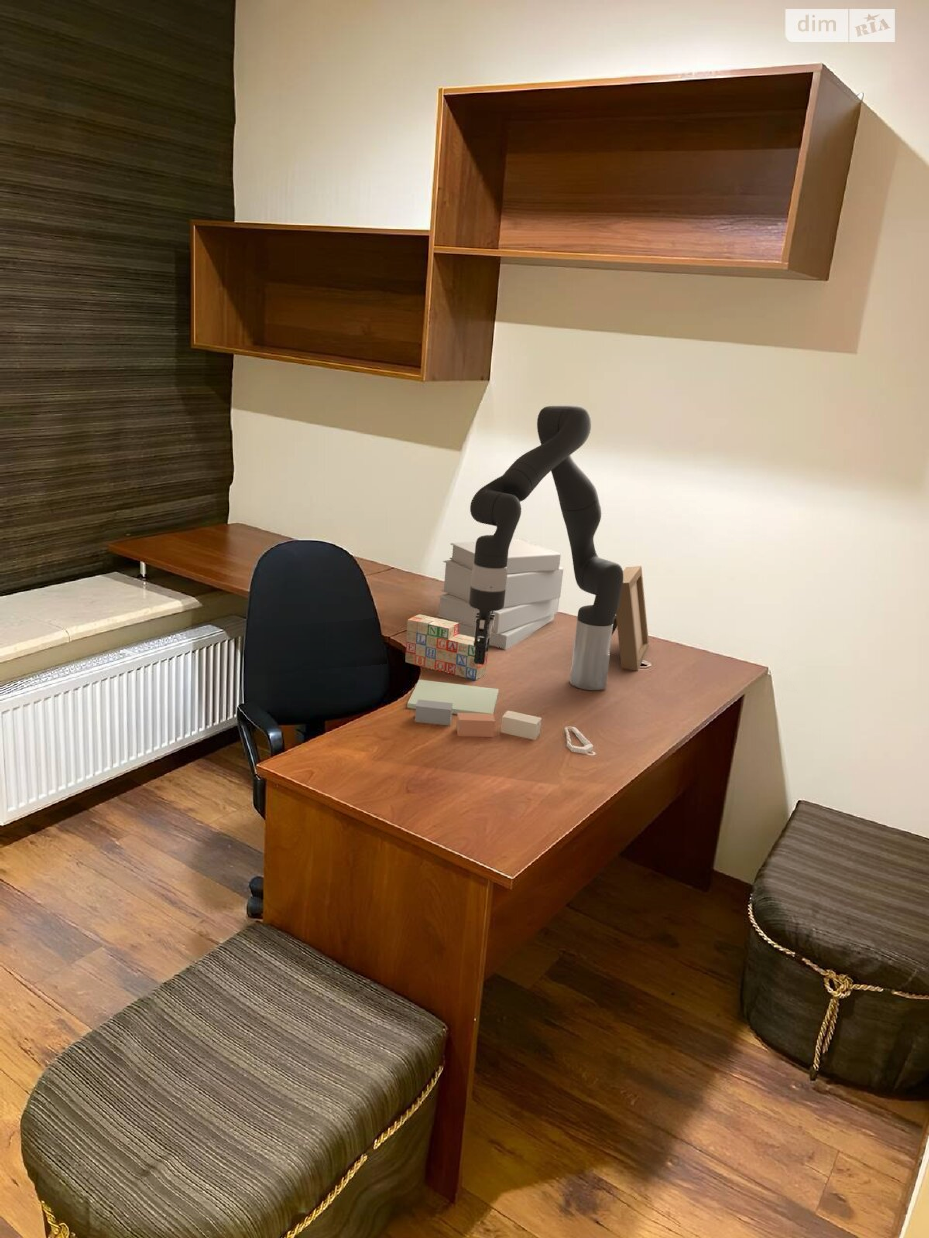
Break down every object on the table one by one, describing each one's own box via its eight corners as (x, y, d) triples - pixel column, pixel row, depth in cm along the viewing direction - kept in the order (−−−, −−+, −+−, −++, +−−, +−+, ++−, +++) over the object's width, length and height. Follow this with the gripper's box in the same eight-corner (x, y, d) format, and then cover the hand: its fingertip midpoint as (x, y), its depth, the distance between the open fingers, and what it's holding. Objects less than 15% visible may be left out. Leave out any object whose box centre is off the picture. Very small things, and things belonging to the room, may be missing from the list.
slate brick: (451, 719, 214) (452, 703, 213) (449, 726, 210) (451, 709, 209) (417, 715, 215) (418, 699, 213) (414, 722, 211) (415, 705, 210)
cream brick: (539, 734, 210) (541, 717, 209) (534, 740, 207) (536, 724, 205) (506, 726, 213) (507, 710, 212) (500, 732, 209) (502, 716, 208)
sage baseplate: (498, 693, 231) (498, 689, 231) (492, 718, 216) (492, 713, 216) (418, 683, 233) (419, 679, 233) (407, 707, 218) (407, 703, 217)
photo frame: (648, 651, 273) (661, 569, 265) (637, 674, 253) (650, 586, 245) (599, 642, 277) (609, 561, 270) (583, 664, 257) (594, 577, 250)
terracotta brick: (491, 730, 210) (492, 713, 209) (493, 737, 206) (495, 720, 205) (455, 729, 209) (457, 712, 208) (457, 736, 205) (459, 719, 204)
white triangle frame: (553, 733, 212) (554, 726, 212) (573, 731, 214) (574, 725, 213) (575, 758, 200) (576, 751, 200) (596, 757, 202) (597, 749, 201)
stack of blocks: (486, 674, 244) (490, 629, 240) (475, 681, 239) (480, 635, 235) (416, 656, 253) (419, 613, 249) (404, 662, 247) (407, 618, 244)
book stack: (566, 628, 288) (576, 547, 281) (516, 657, 259) (525, 567, 251) (481, 608, 302) (488, 530, 294) (424, 633, 272) (430, 547, 265)
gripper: (503, 595, 191) (495, 670, 195) (508, 579, 204) (501, 649, 209) (466, 591, 191) (459, 665, 196) (474, 575, 205) (468, 645, 210)
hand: (481, 657), depth 202 cm, fingers open, 8 cm apart
